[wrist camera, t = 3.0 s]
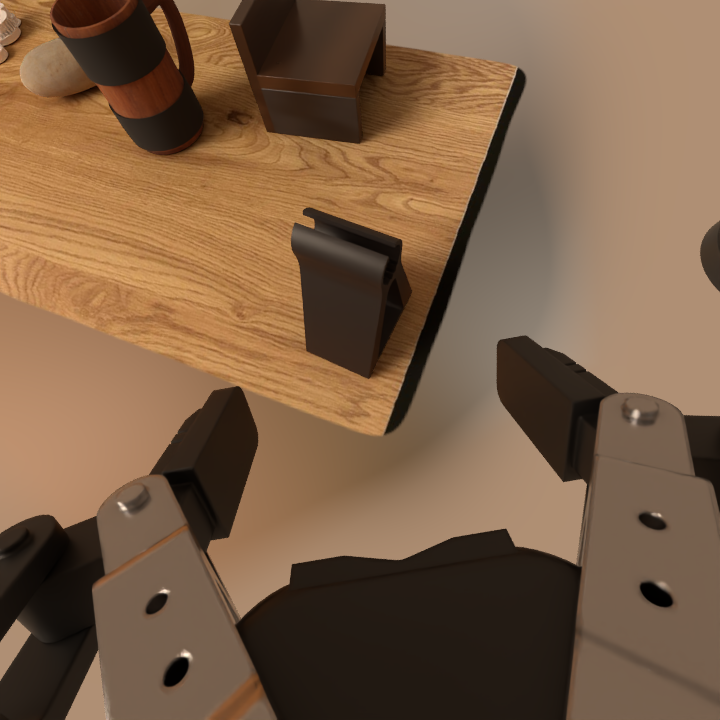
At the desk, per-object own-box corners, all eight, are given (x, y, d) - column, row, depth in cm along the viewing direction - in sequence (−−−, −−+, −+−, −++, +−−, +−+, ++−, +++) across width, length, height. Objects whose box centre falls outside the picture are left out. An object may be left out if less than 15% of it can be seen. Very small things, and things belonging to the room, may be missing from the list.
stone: (13, 71, 42) (75, -9, 41) (72, 119, 47) (129, 50, 46) (6, 78, 39) (73, -8, 37) (71, 129, 44) (132, 55, 42)
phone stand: (353, 270, 33) (334, 160, 21) (412, 293, 31) (425, 190, 20) (307, 352, 30) (258, 277, 19) (368, 380, 29) (355, 318, 18)
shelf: (386, 69, 41) (385, -53, 32) (360, 144, 38) (350, 32, 28) (299, 61, 43) (274, -57, 33) (266, 132, 39) (228, 23, 30)
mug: (239, 99, 42) (185, -38, 31) (174, 168, 39) (89, 45, 28) (186, 78, 44) (118, -57, 33) (121, 143, 41) (22, 18, 30)
